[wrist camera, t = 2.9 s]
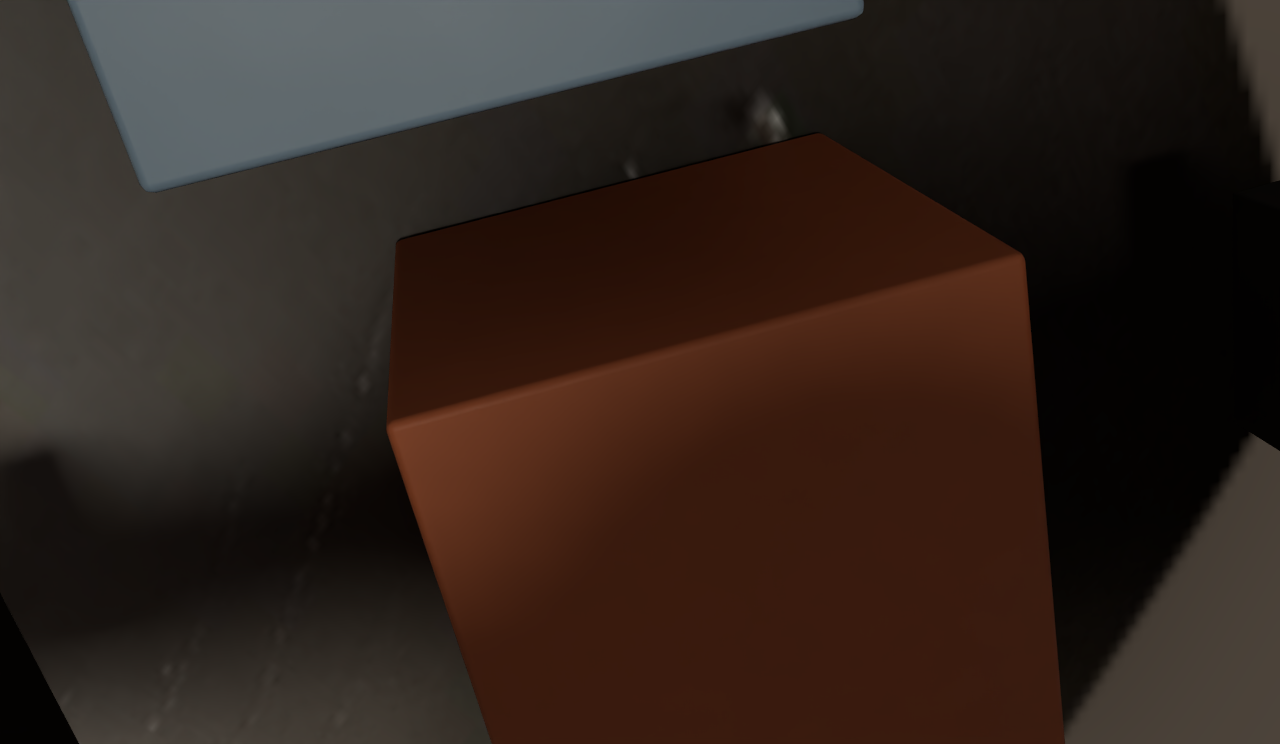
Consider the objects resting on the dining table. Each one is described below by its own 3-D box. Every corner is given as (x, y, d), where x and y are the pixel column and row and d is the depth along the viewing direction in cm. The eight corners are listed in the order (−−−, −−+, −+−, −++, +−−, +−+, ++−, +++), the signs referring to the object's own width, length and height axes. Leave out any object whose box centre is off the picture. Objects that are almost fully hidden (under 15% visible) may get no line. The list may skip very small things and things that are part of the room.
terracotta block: (821, 129, 14) (1028, 253, 9) (877, 500, 16) (1068, 753, 11) (394, 239, 13) (383, 427, 9) (507, 605, 15) (548, 913, 11)
